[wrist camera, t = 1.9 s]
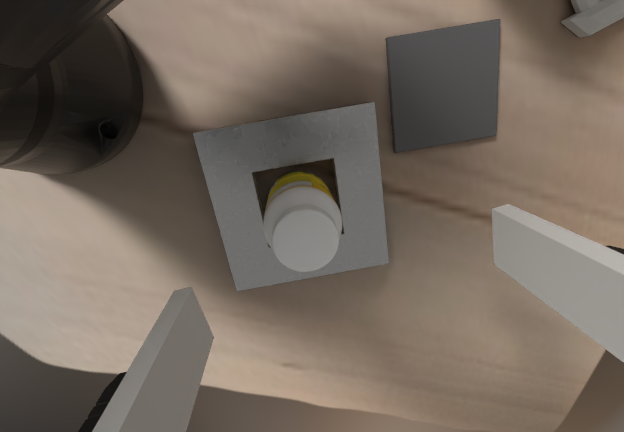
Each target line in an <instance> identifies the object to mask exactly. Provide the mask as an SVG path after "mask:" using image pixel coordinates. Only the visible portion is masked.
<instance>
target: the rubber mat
mask: <svg viewBox="0 0 624 432" xmlns="http://www.w3.org/2000/svg"><path fill="white" fill-rule="evenodd" d="M499 43H500V19H496V20H490V21H484V22H478V23H472V24H466V25H460V26H454V27H448V28H442V29H436V30H430V31H424V32H418V33H412V34H406V35H400V36H394V37H388V38H386V50H387V63H388V77H389V91H390V105H391V118H392V132H393V146H394V152H395V153H399V152H404V151H410V150H416V149H421V148H427V147H433V146H439V145H444V144H450V143H456V142H461V141H467V140H473V139H478V138H484V137H490V136H496V130H497V101H498V72H499Z"/></svg>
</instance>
